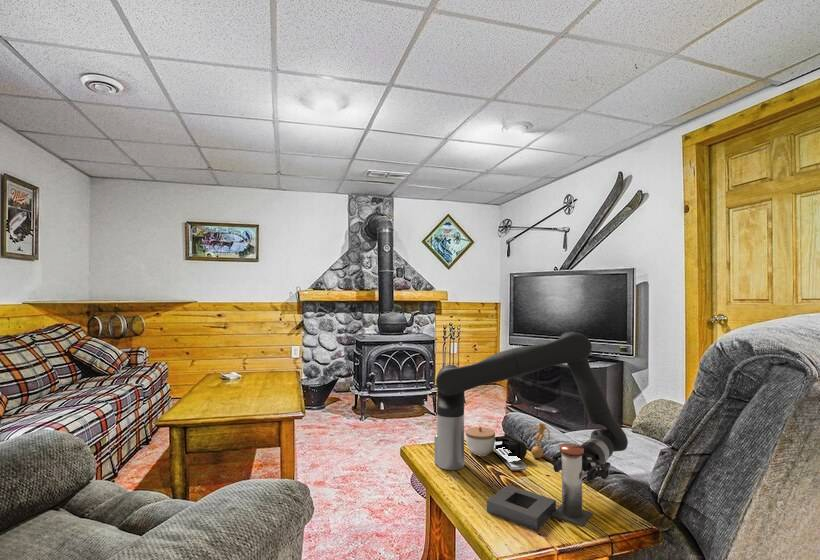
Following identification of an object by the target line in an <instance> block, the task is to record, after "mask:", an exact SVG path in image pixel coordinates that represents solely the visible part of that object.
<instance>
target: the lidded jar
mask: <svg viewBox="0 0 820 560" xmlns="http://www.w3.org/2000/svg"><path fill="white" fill-rule="evenodd" d="M464 434H465V442H466V446H467V448H468V450H469V451H470V452H471V453H473V454H472V455H474V454H475V455H474V456H476V455H480V456H479V457H486V455H487V456H488V455H489V454H490V453H491V452H492V451H493V450H494V448H495V445H496V444H495V443H496V442H495V437H496V431H495V430H494V429H492V428H489V427H483V426H473V427H468V428H467V429H465V430H464Z"/></svg>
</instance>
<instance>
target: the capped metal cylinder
mask: <svg viewBox="0 0 820 560" xmlns="http://www.w3.org/2000/svg"><path fill="white" fill-rule="evenodd" d="M580 445H581V444H576V443H570V442H567V443H566V442H565V443H560V444H559V452H561V453H562V469H561V504H562V513H563V514H564V515H565V516H567V517H570V518H581V517H582V515H583V514H582V509H583V471H582V455H583V454H584V448H583V447H582V446H580Z"/></svg>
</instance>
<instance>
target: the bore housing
mask: <svg viewBox="0 0 820 560" xmlns="http://www.w3.org/2000/svg"><path fill="white" fill-rule="evenodd" d="M556 501H557V500H556V499H553V498H550V497H547V496H545V495H541V494H538V493H535V492H531V491H528V490H525V489H523V488H519V487H515V486H513V485H510V484H507V485H506V486H504V487H503V488H502V489H500V490H499V491H498V492H496V493H495V494H493V495H492V496H490V497H489V498H488V499H487V500H486V513H489V514H491V515H492V514H493V515H494V516H497V517H501V518H502V519H505V520H507V521H510V522H513V523H516V524H518V525H520V526H523V527H526V528H529V529H531V530H534V531H538V530H539V529H540V528H541V527H542V526H543V525H544V524H545V523H546V522H547V521H548V520H549V519H550V518H551V517H552V516H551V514H552V513H553V512H554V511H555V510H556V509H557V502H556ZM520 505H521V506H520Z"/></svg>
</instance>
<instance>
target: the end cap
mask: <svg viewBox="0 0 820 560" xmlns="http://www.w3.org/2000/svg"><path fill="white" fill-rule="evenodd" d="M497 442H498V443H499V442H501V443H500V444H494V449H495V450H496V449H498V448H502V447H505V448H503V449H508V450H510V451H511V452H512V453H509V454H508V456H517V457H518V458H520V459H521V460H522V459H524V458H525V457H526V456H527V453H528V446H527V445H526V444H525V443H524V442H522V441H521V440H519V439H517V438H516V437H514V436H513V435H510V434H509V433H507V432H505V433H503V435H502V436H495V443H497Z"/></svg>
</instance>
